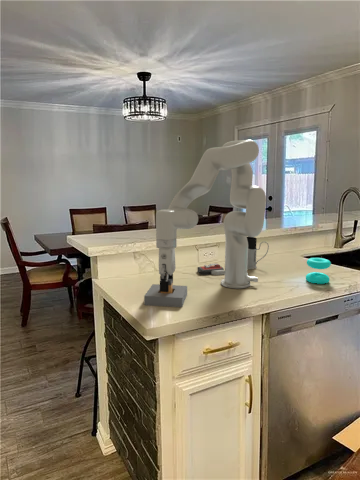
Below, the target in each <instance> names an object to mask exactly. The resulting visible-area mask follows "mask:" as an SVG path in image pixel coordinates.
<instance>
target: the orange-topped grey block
mask: <svg viewBox="0 0 360 480" xmlns="http://www.w3.org/2000/svg"><path fill="white" fill-rule="evenodd" d="M168 281H169V291H168V292H161V293H173V285H174V278H173V279H168Z"/></svg>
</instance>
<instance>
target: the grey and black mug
mask: <svg viewBox="0 0 360 480" xmlns="http://www.w3.org/2000/svg"><path fill="white" fill-rule="evenodd" d="M246 237H247V236H246ZM257 239H258V238H256V237H247V241H248V263H247V270H256V269H257V264H258V263H259V261H261V260H262V259H264V258H265V257H266V256H267V254H268V252H269V249H270V248H269V247H270V246H269V243H268V242H267V241H262V242H260V243H259V247H258V248H257ZM263 243H265V244H267V250H266V253H265V254H264V255H263V256H262V257H261V258H260V259H257V251H258V250H260V249H261V245H262V244H263Z"/></svg>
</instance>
